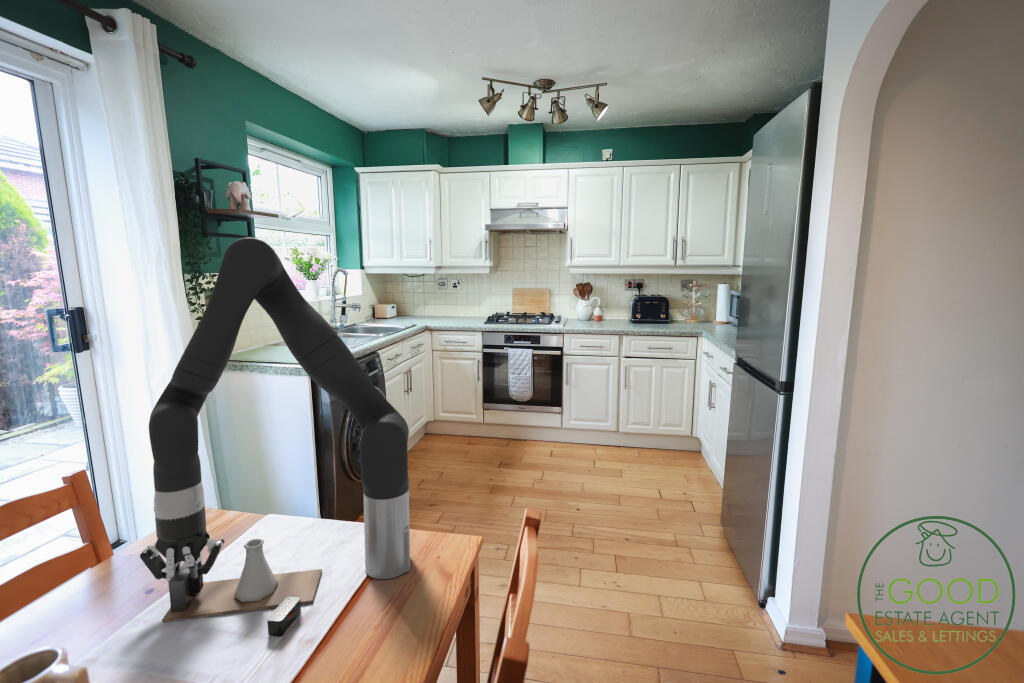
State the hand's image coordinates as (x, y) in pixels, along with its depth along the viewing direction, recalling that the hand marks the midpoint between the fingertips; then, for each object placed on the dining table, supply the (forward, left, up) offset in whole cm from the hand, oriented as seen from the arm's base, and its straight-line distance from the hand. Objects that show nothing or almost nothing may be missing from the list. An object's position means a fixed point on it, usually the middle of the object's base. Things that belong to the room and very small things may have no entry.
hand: (186, 594), depth 88 cm
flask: (-12, 0, -1) cm, 12 cm away
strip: (-11, 0, -2) cm, 11 cm away
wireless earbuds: (-19, +9, -2) cm, 21 cm away
